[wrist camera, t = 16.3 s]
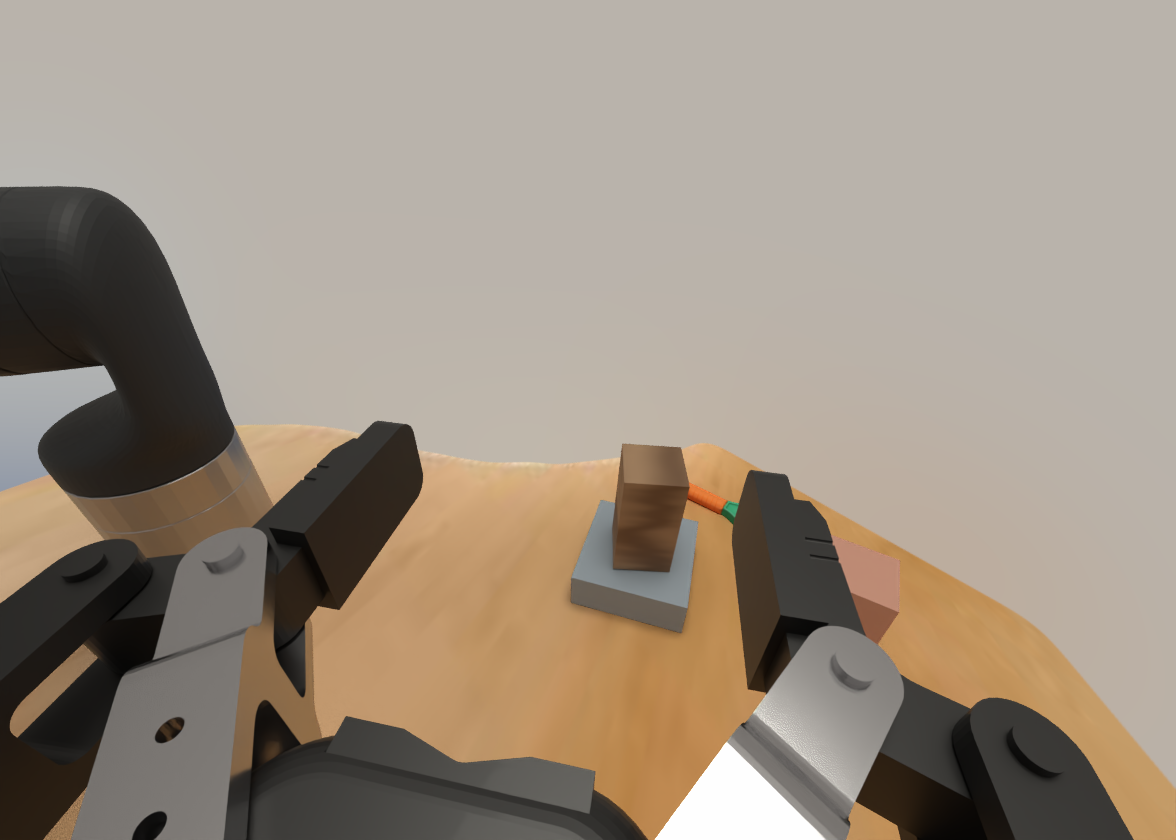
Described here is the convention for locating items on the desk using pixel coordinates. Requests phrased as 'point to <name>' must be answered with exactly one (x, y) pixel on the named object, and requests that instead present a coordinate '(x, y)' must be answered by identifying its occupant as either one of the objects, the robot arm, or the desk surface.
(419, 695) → the desk surface
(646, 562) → the walnut block
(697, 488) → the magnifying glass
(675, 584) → the slate base block
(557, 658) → the desk surface
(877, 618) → the brick-red block
